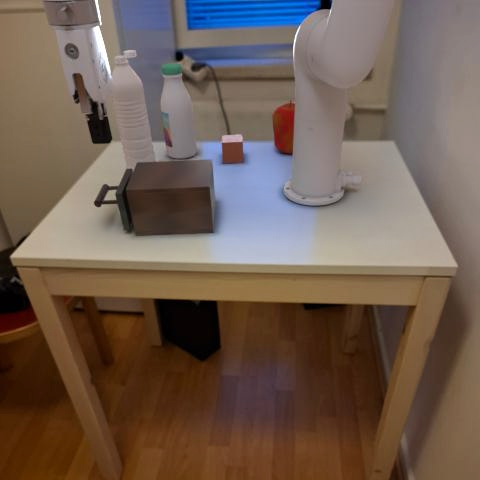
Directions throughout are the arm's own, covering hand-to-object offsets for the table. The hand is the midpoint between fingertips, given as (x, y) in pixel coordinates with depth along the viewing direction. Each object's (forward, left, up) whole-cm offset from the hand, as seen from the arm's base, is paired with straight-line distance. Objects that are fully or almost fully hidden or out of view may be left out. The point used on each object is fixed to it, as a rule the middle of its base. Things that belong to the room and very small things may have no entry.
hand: (102, 141), depth 76 cm
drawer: (-6, 0, -14) cm, 16 cm away
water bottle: (-2, -19, -16) cm, 24 cm away
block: (-22, -29, -15) cm, 39 cm away
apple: (-36, -33, -16) cm, 51 cm away
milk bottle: (-9, -34, -16) cm, 38 cm away
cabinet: (-11, 0, -15) cm, 19 cm away
